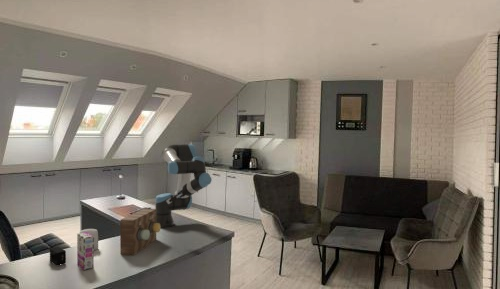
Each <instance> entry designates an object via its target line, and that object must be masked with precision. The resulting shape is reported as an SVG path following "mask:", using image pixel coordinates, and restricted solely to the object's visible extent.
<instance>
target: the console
mask: <svg viewBox="0 0 500 289" xmlns="http://www.w3.org/2000/svg"><path fill="white" fill-rule="evenodd" d="M119 221H120V223H119V226H120V227H119V230H120V231H119V232H120V236H119V237H120V239H119V240H120V244H119V246H120V248H119V249H120V254H122V255H123V256H135V255H136V254H138V253H139V252H141V251H142V250H143V249H145V248H147V246H149V245H151V244H152V243H153V242H155V241H157V232H152V225H153V224H154V223H156V209H155V208H143V209H140V210H139V211H137V212H134V213H132V214H129V215H127V216H125V217H124V218H120V220H119ZM142 230H149V231H150V236H149V238H148V240H143V239H141V238H140V234H141V231H142ZM122 255H121V256H122Z"/></svg>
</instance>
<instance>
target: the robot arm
mask: <svg viewBox="0 0 500 289" xmlns="http://www.w3.org/2000/svg"><path fill="white" fill-rule="evenodd" d="M161 158H162V160H163V161H164V162H166V163H167V173H168V174H169V175H177V186H176V187H177V188H176V190H175V192H174V194H172V193H170V192H169V193H168V192H166V193H161V194H157V195H156V196H155V202H154V203H155V205H154V206H155V208H154V209H156V223H160V226H161V227H160V229H161V228H169V227H173V226H174V222H175V220H174V218H173V216H172V211H182V210H188V209H190V208H191V207H192V203H193V196H192V195H194V194H195V193H199V191H201V190H202V189H204V188H206V187H208V186H209V185H210V184H211V183H212V176H211V175H210V173H208V172H207V170H206V163H205V159H204V157H202V156H197V150H196V146H195V144H191V143H190V144H188V143H187V144H175V143H174V144H170V145H167V146H166V147H164V148H163V150H162V152H161ZM191 174H193V179H190V177H191Z"/></svg>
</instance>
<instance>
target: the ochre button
mask: <svg viewBox="0 0 500 289" xmlns="http://www.w3.org/2000/svg"><path fill="white" fill-rule="evenodd" d="M160 227H161V226H160V223H154V224H153V225H152V232H156V233H159V232H160V231H161V228H160Z"/></svg>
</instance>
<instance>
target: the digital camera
mask: <svg viewBox="0 0 500 289" xmlns="http://www.w3.org/2000/svg"><path fill="white" fill-rule="evenodd" d="M66 252H67V251H66V250H65V249H63V248H62V247H61V246H54V247H51V248H49V261H50V262H51V263H52V262H53V263H54V265H55V266H56V265H59V266H61V265H60V264H63V265H65V264H64V263H66V262H67V255H66V254H67V253H66ZM53 263H52V264H53Z"/></svg>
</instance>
